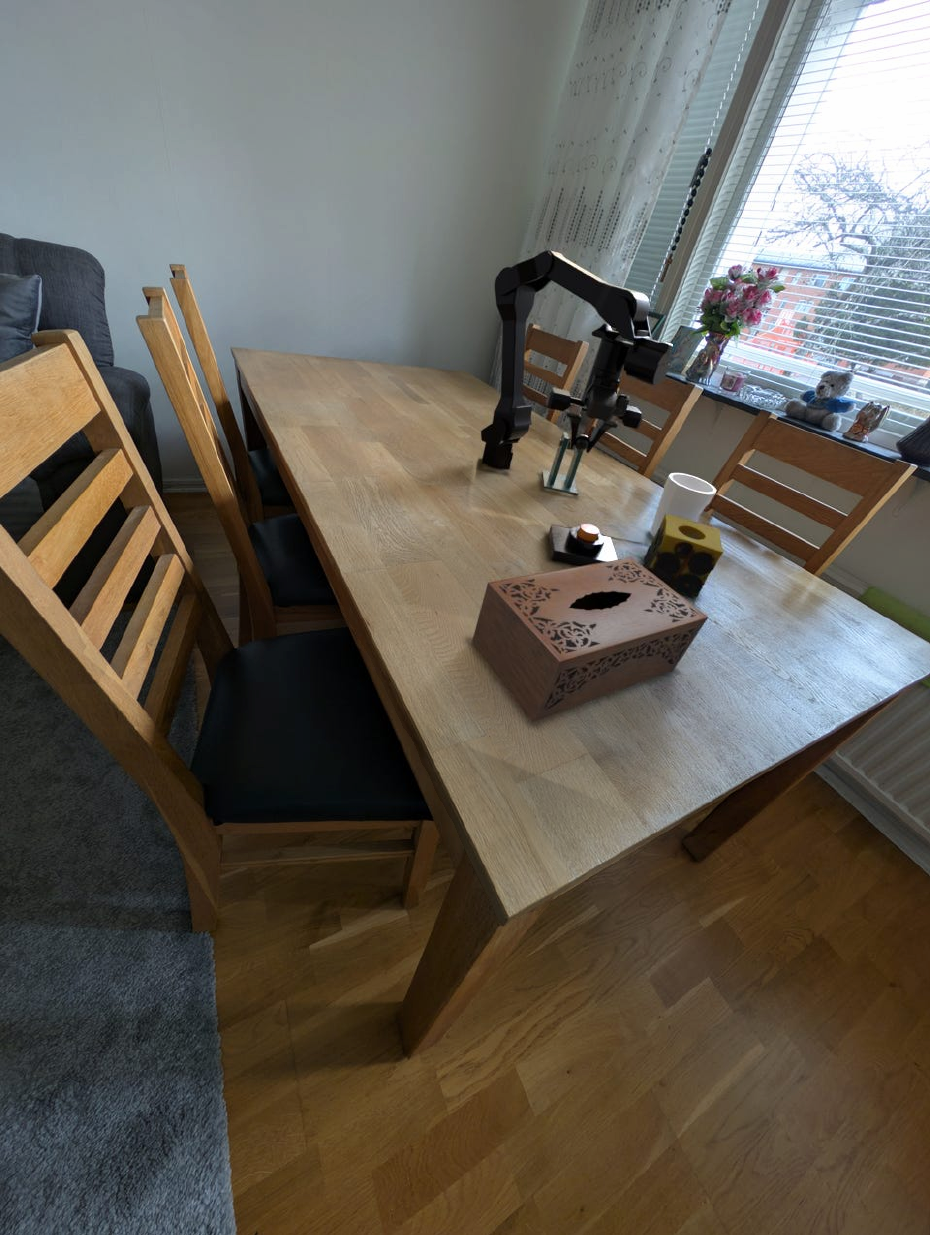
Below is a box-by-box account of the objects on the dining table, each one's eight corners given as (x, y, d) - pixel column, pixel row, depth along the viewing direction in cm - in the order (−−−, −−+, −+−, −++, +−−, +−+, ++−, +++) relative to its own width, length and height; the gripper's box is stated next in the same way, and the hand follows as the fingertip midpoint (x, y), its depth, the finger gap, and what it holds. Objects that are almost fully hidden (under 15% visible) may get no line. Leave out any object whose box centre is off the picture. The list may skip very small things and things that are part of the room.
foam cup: (691, 544, 104) (722, 488, 96) (675, 556, 98) (707, 497, 90) (652, 524, 108) (679, 469, 100) (634, 534, 102) (661, 477, 94)
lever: (589, 451, 98) (593, 435, 98) (574, 448, 98) (578, 432, 97) (575, 454, 111) (579, 439, 110) (562, 451, 111) (565, 436, 110)
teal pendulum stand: (576, 498, 111) (594, 448, 104) (543, 491, 111) (558, 440, 104) (572, 481, 119) (589, 434, 112) (541, 474, 119) (555, 426, 112)
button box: (550, 560, 87) (557, 541, 84) (547, 534, 94) (554, 516, 92) (614, 574, 87) (623, 555, 85) (606, 547, 95) (614, 529, 93)
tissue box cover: (532, 722, 56) (559, 661, 50) (471, 642, 65) (488, 582, 59) (673, 670, 69) (708, 616, 63) (606, 609, 78) (631, 557, 72)
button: (578, 539, 87) (581, 531, 86) (576, 530, 90) (579, 522, 89) (597, 543, 87) (600, 535, 86) (594, 534, 90) (598, 526, 89)
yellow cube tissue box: (694, 574, 93) (720, 529, 87) (697, 601, 86) (726, 553, 79) (642, 556, 95) (665, 511, 89) (641, 581, 87) (665, 533, 81)
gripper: (562, 366, 84) (537, 453, 94) (664, 390, 85) (629, 474, 95) (558, 355, 93) (535, 436, 102) (650, 377, 94) (619, 455, 103)
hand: (579, 450), depth 100 cm, fingers closed on lever, 3 cm apart
